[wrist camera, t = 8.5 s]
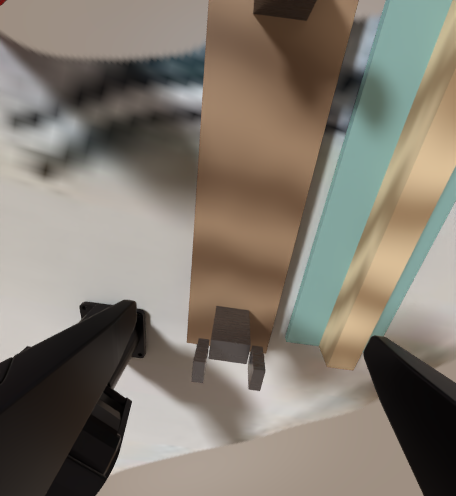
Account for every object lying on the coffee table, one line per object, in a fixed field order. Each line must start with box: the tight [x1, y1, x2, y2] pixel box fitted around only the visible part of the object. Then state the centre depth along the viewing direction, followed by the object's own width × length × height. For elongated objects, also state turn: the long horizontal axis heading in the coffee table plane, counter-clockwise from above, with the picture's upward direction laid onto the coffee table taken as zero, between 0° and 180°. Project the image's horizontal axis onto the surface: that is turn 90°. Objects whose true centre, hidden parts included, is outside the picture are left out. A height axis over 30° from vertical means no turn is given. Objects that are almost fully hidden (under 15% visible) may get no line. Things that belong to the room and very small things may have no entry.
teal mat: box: [285, 0, 456, 352], centre depth 17 cm, size 28×9×1 cm, turn 173°
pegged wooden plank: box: [192, 0, 317, 391], centre depth 13 cm, size 24×5×6 cm, turn 173°
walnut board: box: [187, 0, 359, 353], centre depth 17 cm, size 30×8×2 cm, turn 173°
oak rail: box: [319, 0, 456, 370], centre depth 16 cm, size 28×2×2 cm, turn 173°
